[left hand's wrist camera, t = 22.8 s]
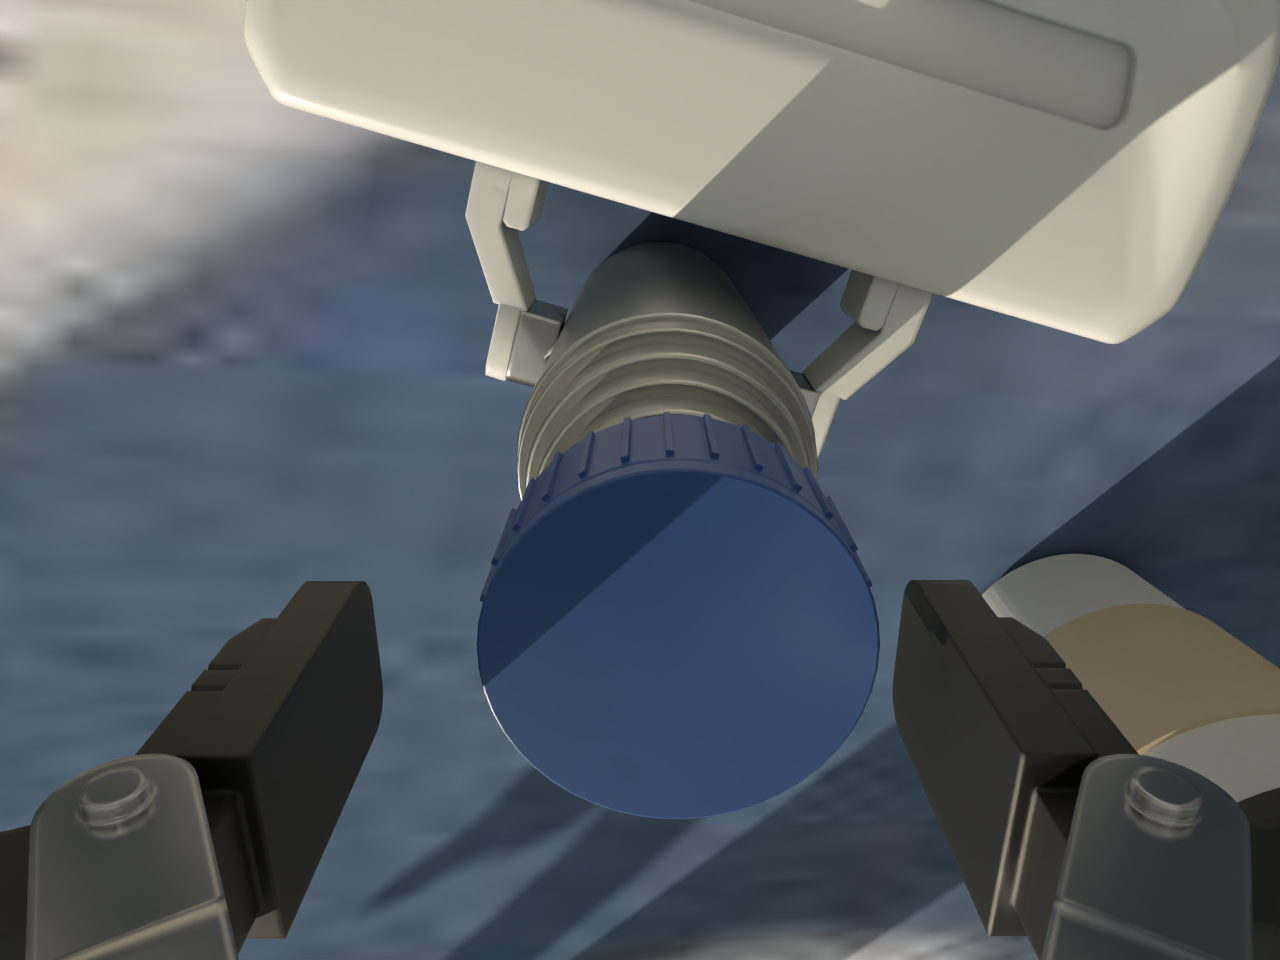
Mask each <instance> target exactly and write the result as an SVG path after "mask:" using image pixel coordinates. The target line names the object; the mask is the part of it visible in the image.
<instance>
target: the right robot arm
mask: <svg viewBox="0 0 1280 960" xmlns="http://www.w3.org/2000/svg"><path fill="white" fill-rule="evenodd" d="M244 37H245V42H246V45H247V48H248V51H249V53H250V55H251V57H252V59H253V61H254V63H255V65H256V67H257V68H258V70H259V72H260V74H261V76H262V78H263V80H264V82H265V84H266V86H267V87H268V89H269V91H270V93H271V94H272V96H273V97H274V98H275V99H276V100H277V101H278V102H279V103H281V104H283V105H286V106H289V107H292V108H295V109H299V110H302V111H305V112H309V113H312V114H316V115H319V116H323V117H326V118H330V119H333V120H336V121H340V122H343V123H347V124H350V125H354V126H357V127H361V128H364V129H368V130H371V131H375V132H378V133H381V134H385V135H388V136H392V137H395V138H399V139H402V140H406V141H409V142H413V143H416V144H419V145H423V146H426V147H430V148H433V149H437V150H440V151H444V152H447V153H451V154H454V155H457V156H461V157H464V158H468V159H471V160H475V161H476V164H475V169H474V174H473V179H472V184H471V189H470V194H469V199H468V204H467V209H466V214H465V216H466V219H467V222H468V225H469V228H470V232H471V235H472V238H473V241H474V244H475V247H476V250H477V253H478V256H479V259H480V262H481V265H482V268H483V271H484V274H485V277H486V280H487V284H488V287H489V290H490V293H491V296H492V299H493V302H494V303H497V304H499V307H498V312H497V316H496V321H495V326H494V330H493V335H492V340H491V344H490V349H489V353H488V358H487V363H486V375H488V376H491V377H494V378H497V379H500V380H503V381H506V380H507V381H510V382H514V383H518V384H522V385H526V386H530V387H535V385H536V383H537V381H538V379H539V377H540V375H541V373H542V371H543V369H544V366H545V364H546V362H547V360H548V358H549V356H550V354H551V352H552V350H553V348H554V346H555V344H556V341H557V339H558V337H559V335H560V333H561V331H562V329H563V327H564V323H565V319H566V315H567V311H568V309H566V308H563V307H559V306H556V305H553V304H549V303H546V302H543V301H539V300H536V294H535V291H534V287H533V284H532V280H531V276H530V273H529V269H528V266H527V262H526V259H525V255H524V251H523V248H522V244H521V241H520V237H519V234H518V230H522V231H523V230H525V229H526V228H528V227H529V226H531V225H532V224H534V223H535V222H537V221H538V220H540V217H541V213H542V208H543V204H544V200H545V196H546V192H547V187H548V183H549V182H551V183H554V184H558V185H561V186H565V187H568V188H572V189H575V190H578V191H582V192H585V193H589V194H592V195H596V196H599V197H603V198H606V199H610V200H613V201H616V202H620V203H623V204H627V205H630V206H634V207H637V208H641V209H644V210H648V211H651V212H655V213H658V214H661V215H665V216H668V217H672V218H675V219H679V220H682V221H686V222H689V223H693V224H696V225H699V226H703V227H706V228H710V229H713V230H717V231H720V232H724V233H727V234H731V235H734V236H737V237H741V238H744V239H748V240H751V241H755V242H758V243H762V244H765V245H769V246H772V247H775V248H779V249H782V250H786V251H789V252H793V253H796V254H800V255H803V256H807V257H810V258H814V259H817V260H820V261H824V262H827V263H831V264H834V265H838V266H841V267H845V268H848V269H852V271H851V274H850V276H849V279H848V282H847V285H846V288H845V291H844V294H843V297H842V300H841V303H840V306H841V309H842V311H844V312H845V313H846V314H847V315H848V316H849V317H851V318H852V319H853V320H854V321H855V323H854V324H853V325H852V326H850V327H849V328H848V329H847V330H846V331H845V332H844V333H843V334H842V335H841V336H840V337H839V338H838V339H837V340H836V341H835V342H833V343H832V344H831V345H830V346H829V347H828V348H827V349H826V350H825V351H824V352H823V353H822V354H821V355H820V356H819V357H817V358H816V359H815V360H814V361H813V362H812V363H811V364H810V365H809V366H808V367H807V368H806V369H805V370H804V371H803V373H804V374H803V373H799V372H795V371H791V370H789V371H790V373H791V374H792V376H793V377H794V379H795V381H796V383H797V384H798V386H799V388H800V390H801V392H802V394H803V395H804V397H805V400H806V403H807V406H808V408H809V411H810V414H811V417H812V422H813V426H814V431H815V440H816V448H817V458H818V456H819V454H820V453H821V450H822V447H823V445H824V442H825V439H826V437H827V434H828V431H829V429H830V426H831V423H832V421H833V418H834V415H835V413H836V410H837V407H838V404H839V402H840V399H845V400H846V399H847V398H849V397H850V396H851V395H852V394H853V393H855V392H856V391H857V390H858V389H859V388H860V387H862V386H863V385H864V384H865V383H866V382H868V381H869V380H870V379H871V378H872V377H874V376H875V375H876V374H877V373H878V372H880V371H881V370H882V369H883V368H884V367H886V366H887V365H888V364H889V363H890V362H892V361H893V360H894V359H895V358H896V357H898V356H899V355H900V354H901V353H902V352H904V351H905V350H906V349H907V348H908V347H910V346H911V345H912V344H913V343H914V340H915V338H916V335H917V333H918V330H919V328H920V325H921V323H922V320H923V318H924V315H925V313H926V310H927V308H928V305H929V303H930V300H931V298H932V295H933V293H935V294H938V295H941V296H945V297H948V298H952V299H955V300H959V301H962V302H966V303H969V304H973V305H976V306H979V307H983V308H986V309H990V310H993V311H997V312H1000V313H1004V314H1007V315H1011V316H1014V317H1017V318H1021V319H1024V320H1028V321H1031V322H1035V323H1038V324H1042V325H1045V326H1049V327H1052V328H1055V329H1059V330H1062V331H1066V332H1069V333H1073V334H1076V335H1080V336H1083V337H1087V338H1090V339H1094V340H1097V341H1101V342H1104V343H1108V344H1117V343H1120V342H1123V341H1125V340H1127V339H1128V338H1130V337H1132V336H1134V335H1136V334H1137V333H1139V332H1140V331H1142V330H1143V329H1145V328H1146V327H1148V326H1149V325H1151V324H1152V323H1154V322H1155V321H1157V320H1158V319H1160V318H1161V317H1162V316H1164V315H1165V314H1167V313H1168V312H1169V311H1170V310H1171V309H1172V308H1173V307H1174V306H1175V305H1176V304H1177V302H1178V301H1179V299H1180V298H1181V296H1182V295H1183V293H1184V292H1185V290H1186V288H1187V286H1188V284H1189V283H1190V281H1191V279H1192V277H1193V275H1194V273H1195V271H1196V269H1197V268H1198V266H1199V264H1200V261H1201V259H1202V257H1203V255H1204V253H1205V251H1206V249H1207V247H1208V244H1209V242H1210V240H1211V238H1212V236H1213V234H1214V232H1215V230H1216V227H1217V225H1218V223H1219V221H1220V219H1221V216H1222V214H1223V212H1224V209H1225V207H1226V205H1227V203H1228V200H1229V198H1230V196H1231V193H1232V191H1233V189H1234V186H1235V184H1236V181H1237V179H1238V177H1239V174H1240V172H1241V169H1242V167H1243V164H1244V162H1245V159H1246V157H1247V155H1248V152H1249V150H1250V147H1251V144H1252V142H1253V139H1254V136H1255V134H1256V131H1257V128H1258V126H1259V123H1260V120H1261V118H1262V115H1263V112H1264V109H1265V106H1266V103H1267V100H1268V98H1269V95H1270V92H1271V89H1272V85H1273V82H1274V78H1275V75H1276V71H1277V67H1278V62H1279V57H1280V0H247V3H246V11H245V19H244ZM517 229H518V230H517Z"/></svg>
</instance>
